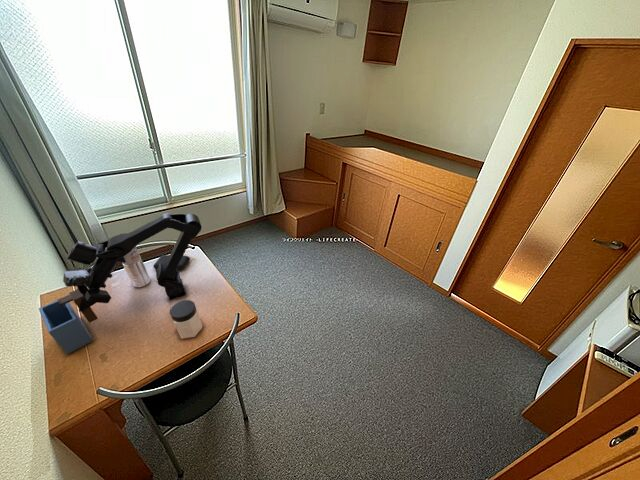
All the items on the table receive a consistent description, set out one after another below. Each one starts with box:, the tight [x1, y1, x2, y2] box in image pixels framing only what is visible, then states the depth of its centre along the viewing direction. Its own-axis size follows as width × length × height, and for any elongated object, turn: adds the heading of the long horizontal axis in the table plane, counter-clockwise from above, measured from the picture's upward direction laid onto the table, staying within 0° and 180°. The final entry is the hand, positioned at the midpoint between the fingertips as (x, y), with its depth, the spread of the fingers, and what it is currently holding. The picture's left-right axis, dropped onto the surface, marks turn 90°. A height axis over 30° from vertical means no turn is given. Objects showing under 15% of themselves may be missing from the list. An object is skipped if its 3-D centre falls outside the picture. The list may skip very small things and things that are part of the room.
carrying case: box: [152, 254, 191, 271], centre depth 125 cm, size 11×3×15 cm
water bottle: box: [121, 245, 151, 288], centre depth 108 cm, size 7×7×25 cm
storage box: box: [38, 299, 94, 355], centre depth 88 cm, size 7×14×12 cm, turn 51°
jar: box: [169, 299, 203, 340], centre depth 93 cm, size 9×8×12 cm
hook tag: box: [57, 288, 99, 324], centre depth 89 cm, size 6×5×12 cm
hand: (78, 307), depth 89 cm, fingers closed on hook tag, 5 cm apart
